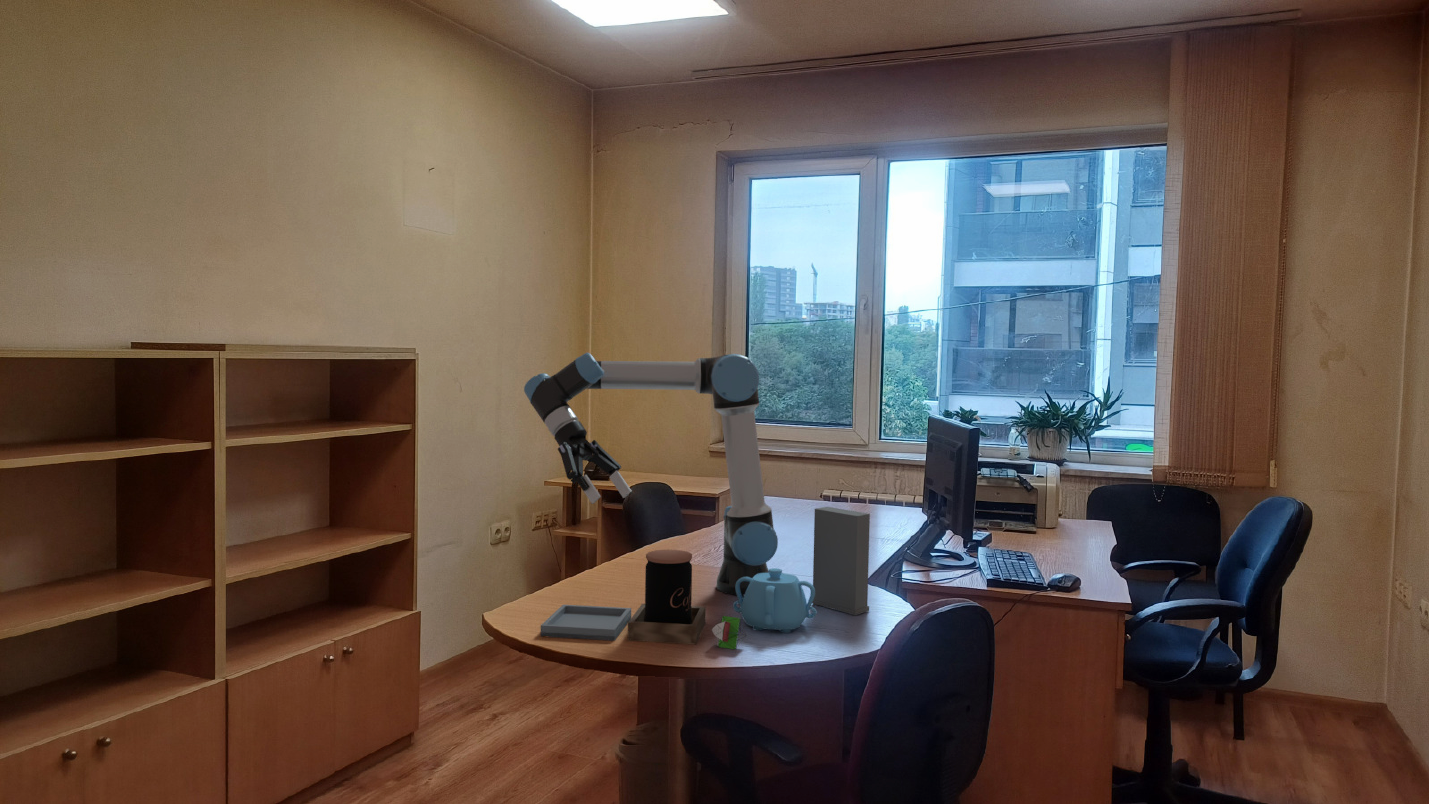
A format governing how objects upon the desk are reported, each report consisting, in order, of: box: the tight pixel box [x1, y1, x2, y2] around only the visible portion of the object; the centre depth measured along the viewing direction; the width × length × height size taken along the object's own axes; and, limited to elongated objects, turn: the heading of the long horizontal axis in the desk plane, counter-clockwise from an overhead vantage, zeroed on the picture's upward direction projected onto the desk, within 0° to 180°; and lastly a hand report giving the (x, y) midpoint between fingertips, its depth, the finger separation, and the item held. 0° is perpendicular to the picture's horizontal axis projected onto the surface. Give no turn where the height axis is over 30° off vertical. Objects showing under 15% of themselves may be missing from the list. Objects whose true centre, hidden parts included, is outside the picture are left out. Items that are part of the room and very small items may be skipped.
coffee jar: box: [644, 549, 693, 624], centre depth 199 cm, size 11×11×18 cm
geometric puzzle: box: [710, 615, 748, 651], centre depth 189 cm, size 7×7×8 cm
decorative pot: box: [732, 567, 818, 634], centre depth 205 cm, size 16×16×14 cm
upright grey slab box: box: [811, 506, 871, 616], centre depth 220 cm, size 14×6×25 cm, turn 44°
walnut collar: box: [627, 603, 707, 645], centre depth 199 cm, size 15×15×4 cm
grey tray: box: [540, 604, 632, 642], centre depth 201 cm, size 17×17×2 cm
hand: (612, 497), depth 208 cm, fingers open, 13 cm apart
